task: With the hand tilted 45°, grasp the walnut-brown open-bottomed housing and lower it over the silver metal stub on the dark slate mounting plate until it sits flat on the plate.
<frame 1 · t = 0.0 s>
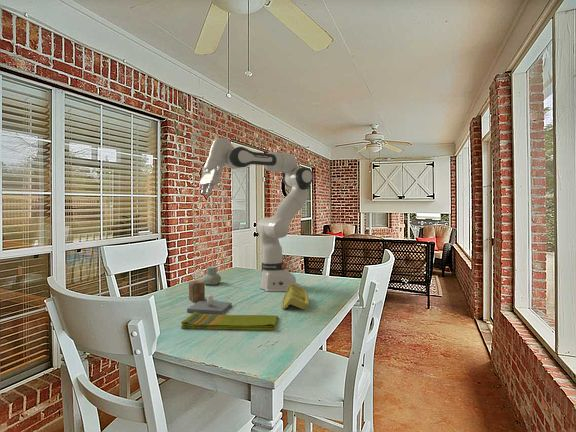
hand: (205, 193, 168), 52 cm above the table, tool tilted 20°, fingers open, 8 cm apart
housing: (196, 299, 164), on the table
plastic component: (296, 304, 158), on the table
grey green jug: (211, 284, 197), on the table
mounting plate: (210, 308, 151), on the table
dish towel: (231, 324, 133), on the table
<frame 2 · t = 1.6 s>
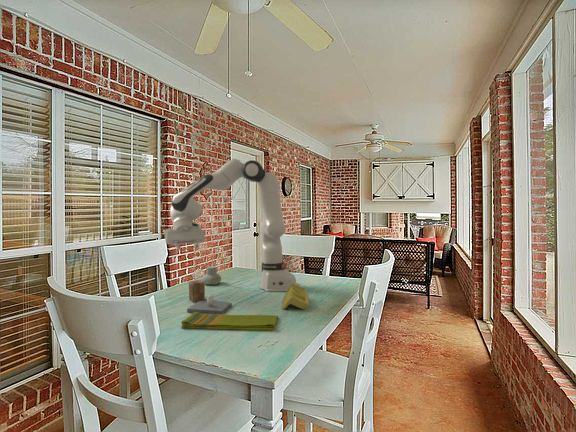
hand: (188, 248, 174), 24 cm above the table, tool tilted 45°, fingers open, 8 cm apart
nothing on the table moved.
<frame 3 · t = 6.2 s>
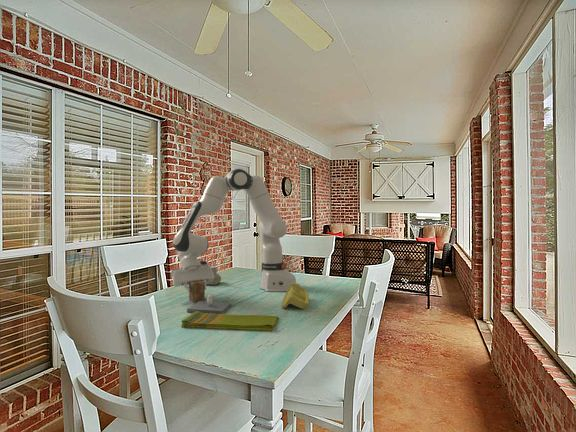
hand: (197, 290, 164), 5 cm above the table, tool tilted 45°, fingers closed on housing, 6 cm apart
housing: (196, 299, 164), on the table, touching gripper
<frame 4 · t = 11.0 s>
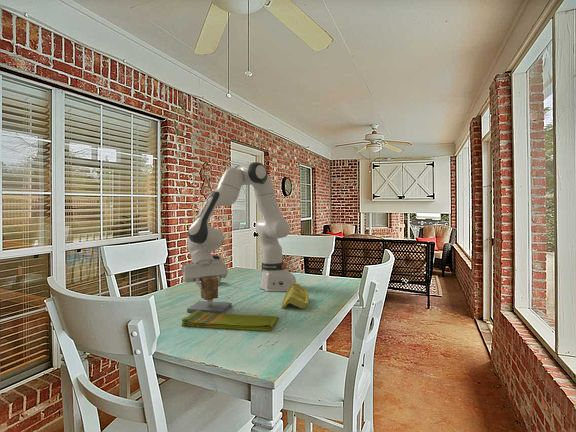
hand: (209, 287, 149), 10 cm above the table, tool tilted 45°, fingers closed on housing, 6 cm apart
housing: (209, 297, 150), point 5 cm above the table, touching gripper
when the fingers open (7 cm above the table, at t = 12.2 s): housing stays where it is, resting on mounting plate.
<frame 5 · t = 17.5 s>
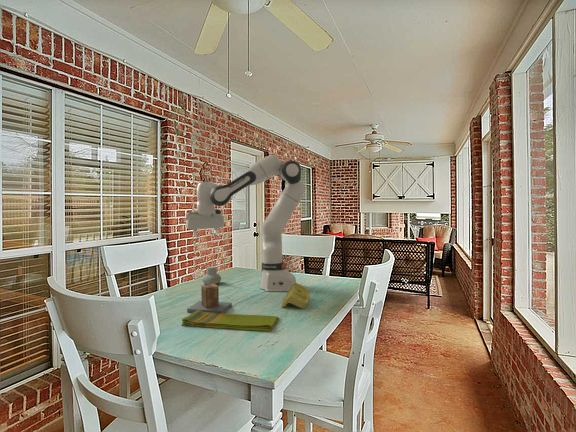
hand: (205, 236, 181), 29 cm above the table, tool pointing down, fingers open, 8 cm apart
housing: (210, 305, 150), point 1 cm above the table, touching mounting plate
at the end: housing 0.1 cm off-centre on the mounting plate, point 1.5 cm above the mounting plate's base; housing tilted 0°; the gripper is holding nothing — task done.
